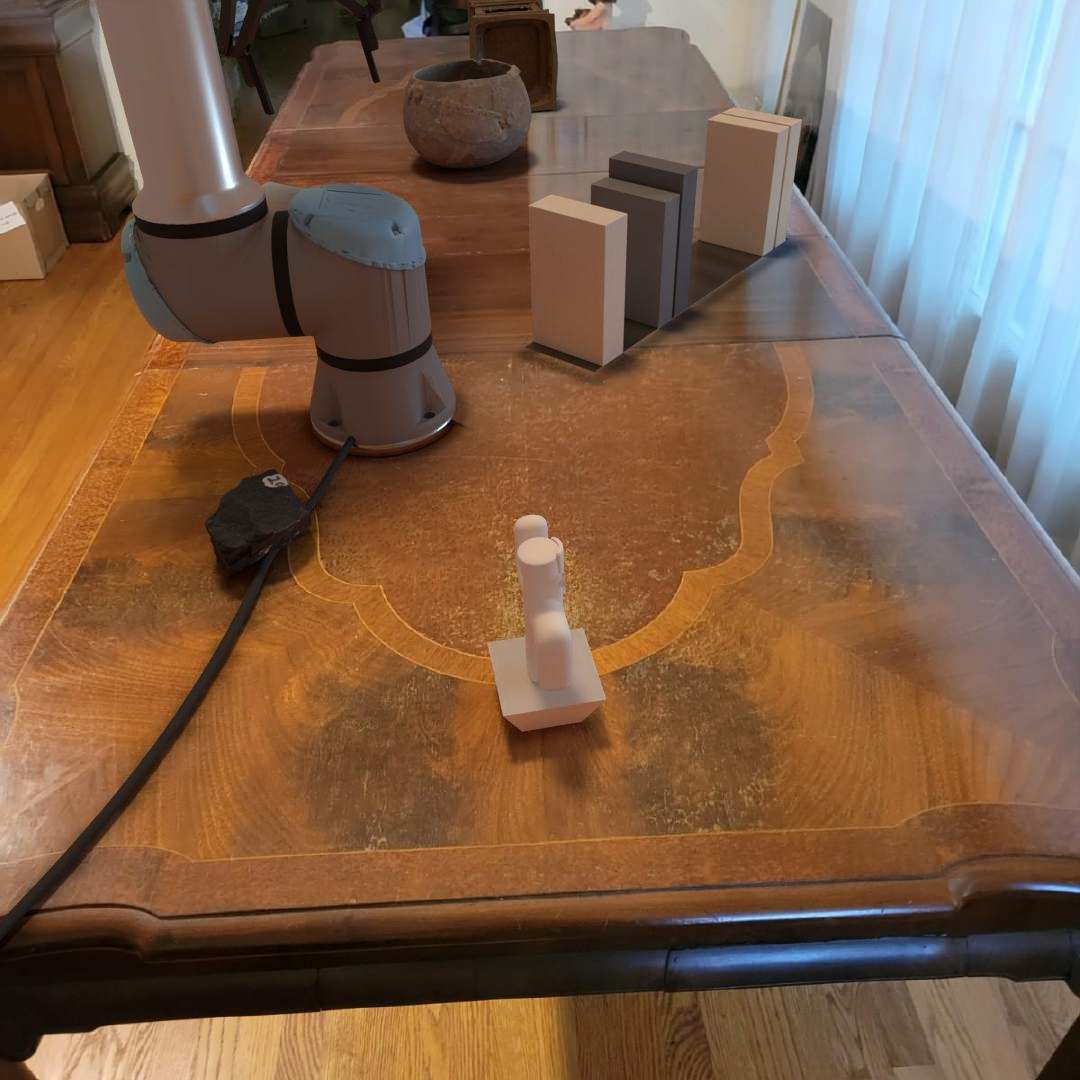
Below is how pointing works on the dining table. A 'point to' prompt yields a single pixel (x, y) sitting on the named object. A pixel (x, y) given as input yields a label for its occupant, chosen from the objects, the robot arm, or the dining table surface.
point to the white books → (748, 179)
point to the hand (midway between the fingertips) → (323, 97)
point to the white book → (578, 277)
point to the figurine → (544, 642)
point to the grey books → (652, 231)
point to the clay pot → (466, 112)
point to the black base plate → (706, 275)
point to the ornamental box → (518, 43)
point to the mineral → (256, 521)
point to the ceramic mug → (279, 195)
